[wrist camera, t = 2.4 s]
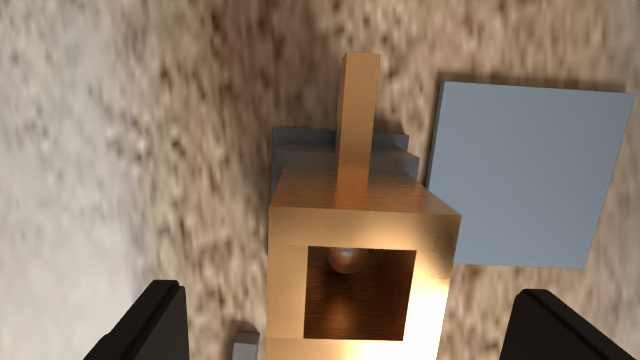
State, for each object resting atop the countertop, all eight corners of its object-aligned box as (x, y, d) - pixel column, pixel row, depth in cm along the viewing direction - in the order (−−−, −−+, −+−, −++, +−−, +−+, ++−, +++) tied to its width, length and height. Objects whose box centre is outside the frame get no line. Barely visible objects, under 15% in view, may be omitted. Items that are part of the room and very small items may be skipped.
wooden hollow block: (424, 64, 14) (493, 41, 9) (394, 286, 17) (433, 371, 11) (287, 54, 14) (272, 25, 8) (280, 281, 17) (265, 367, 11)
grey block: (412, 79, 19) (476, 66, 12) (388, 265, 22) (427, 347, 15) (275, 71, 19) (251, 51, 11) (270, 261, 22) (250, 342, 14)
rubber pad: (626, 94, 20) (636, 93, 19) (576, 264, 22) (583, 268, 22) (440, 81, 19) (445, 81, 18) (414, 257, 22) (417, 262, 21)
